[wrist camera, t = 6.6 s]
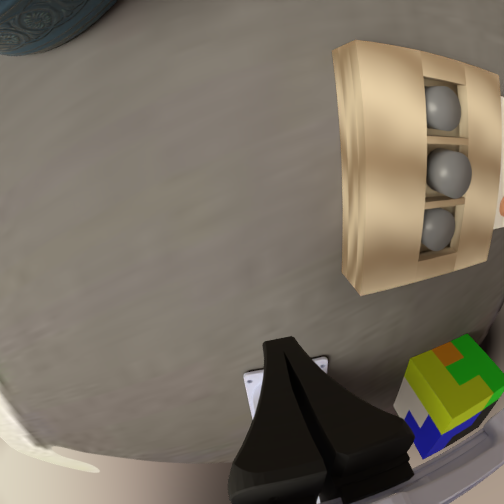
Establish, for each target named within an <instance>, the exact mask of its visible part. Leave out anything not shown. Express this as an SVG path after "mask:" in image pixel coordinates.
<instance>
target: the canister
mask: <svg viewBox="0 0 504 504" xmlns="http://www.w3.org/2000/svg"><path fill="white" fill-rule="evenodd" d="M116 1H117V0H0V54H1V55H7V56H22V55H30V54H37V53H41V52H45V51H48V50H51V49H53V48H55V47H58V46H60V45H62V44H64V43H66V42H67V41H69V40H71V39H73V38H74V37H76V36H77V35H79V34H80V33H82V32H83V31H85V30H86V29H87V28H89V27H90V26H91V25H92V24H94V23H95V22H96V21H97V20H98V19H100V18H101V17H102V16H103V15H104V14H105V13H106V12H107V11H108V10H109V9H110V8H111V7H112V6H113V5H114V4H115V2H116Z"/></svg>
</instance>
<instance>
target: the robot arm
mask: <svg viewBox="0 0 504 504" xmlns="http://www.w3.org/2000/svg"><path fill="white" fill-rule="evenodd" d="M263 352H264V369H263V370H258V371H252V372H247V373H245V374H244V381H245V386H246V391H247V396H248V400H249V405H250V410H251V414H252V419H253V420H252V423H251V426H250V429H249V431H248V433H247V435H246V438H245V440H244V442H243V444H242V446H241V448H240V450H239V452H238V454H237V456H236V458H235V459H234V461H233V464H232V468H231V471H230V475H229V480H228V494H229V500H230V501H231V503H232V504H449V503H451V502H452V501H454V500H455V499H457V498H458V497H460V496H461V495H463V494H464V493H466V492H467V491H469V490H470V489H472V488H473V487H474V486H476V485H477V484H478V483H480V482H481V481H483V480H484V479H485V478H486V477H488V476H489V475H491V474H492V473H493V472H494V471H496V470H497V469H498V468H499V467H501V466H502V465H503V464H504V408H503V409H502V410H501V411H499V412H498V413H497V414H495V415H494V416H493V417H491V418H490V419H489V420H488V421H487V423H486V424H485V425H484V427H483V428H482V429H481V430H479V431H478V432H476V433H475V434H473V435H472V436H470V437H469V438H467V439H466V440H464V441H462V442H461V443H459V444H457V445H456V446H454V447H452V448H451V449H449V450H447V451H446V452H444V453H442V454H440V455H438V456H437V457H435V458H433V459H431V460H429V461H427V462H426V463H423V464H421V465H419V466H418V467H415V468H413V469H412V468H411V466H410V464H409V462H408V461H409V459H410V458H409V456H408V454H407V451H408V450H409V448H410V447H411V445H412V444H413V442H414V439H415V435H414V433H413V431H412V430H411V428H410V427H409V425H408V424H407V423H406V422H405V420H404V419H403V418H400V417H398V416H395V415H392V414H390V413H387V412H385V411H383V410H380V409H378V408H376V407H374V406H372V405H370V404H369V403H367V402H365V401H363V400H362V399H360V398H358V397H356V396H355V395H353V394H352V393H350V392H349V391H347V390H346V389H345V388H343V387H342V386H341V385H339V384H338V383H337V382H336V381H334V380H333V379H332V378H331V377H330V376H329V375H327V368H328V359H327V358H326V357H319V358H315V359H311V358H310V357H309V356H308V354H307V353H306V352H305V351H304V350H303V349H302V347H301V346H300V345H299V344H298V342H297V341H296V340H295V338H294V337H292V336H290V337H285V338H280V339H275V340H270V341H265V342H264V343H263ZM395 493H396V494H395ZM390 495H391V496H390Z"/></svg>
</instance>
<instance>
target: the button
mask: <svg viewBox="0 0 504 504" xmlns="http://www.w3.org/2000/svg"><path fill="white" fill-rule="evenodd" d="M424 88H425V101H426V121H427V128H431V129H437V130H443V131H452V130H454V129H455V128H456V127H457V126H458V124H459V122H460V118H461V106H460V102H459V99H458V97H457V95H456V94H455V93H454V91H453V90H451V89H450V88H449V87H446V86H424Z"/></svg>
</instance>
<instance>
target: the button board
mask: <svg viewBox="0 0 504 504" xmlns="http://www.w3.org/2000/svg"><path fill="white" fill-rule="evenodd" d="M332 56H333V64H334V72H335V81H336V90H337V101H338V113H339V126H340V141H341V161H342V194H343V243H342V273H343V275H344V276H345V277H346V278H347V279H348V281H349V282H350V283H351V284H352V286H353V287H354V288H355V289H356V291H357V292H358V293H359V295H360V296H363V295H367V294H371V293H375V292H379V291H383V290H387V289H391V288H395V287H399V286H403V285H406V284H410V283H414V282H418V281H421V280H425V279H428V278H432V277H436V276H439V275H442V274H446V273H449V272H453V271H456V270H459V269H463V268H466V267H469V266H472V265H475V264H479V263H482V262H485V261H487V256H488V252H489V247H490V243H491V238H492V232H493V227H494V221H495V215H496V208H497V200H498V192H499V182H500V170H501V152H502V112H501V94H500V83H499V75H497V74H494V73H492V72H489V71H486V70H484V69H481V68H478V67H475V66H472V65H469V64H466V63H463V62H460V61H457V60H453V59H450V58H446V57H443V56H439V55H435V54H431V53H427V52H423V51H419V50H414V49H410V48H405V47H400V46H394V45H388V44H382V43H376V42H369V41H361V40H354V41H352V42H350V43H347V44H345V45H343V46H341V47H338V48H336V49H334V50H332ZM424 86H446V87H449V88H450V89H451V90H453V91H454V93H455V94H456V95H457V97H458V99H459V102H460V106H461V118H460V122H459V124H458V126H457V127H456V128H455V129H454V130H452V131H443V130H437V129H431V128H427V121H426V101H425V88H424ZM436 148H444V149H448V150H452V151H456V152H459V153H463V154H464V155H465V156H466V157H467V158H468V159H469V161H470V164H471V168H472V178H471V183H470V186H469V188H468V190H467V192H466V193H465V194H464V195H463V196H462V197H460V198H457V199H453V198H450V197H448V196H446V195H444V194H441V193H439V192H437V191H435V190H432V189H431V188H430V187H429V186H428V185H427V183H426V174H427V157H428V155H429V154H430V152H431V151H433V150H434V149H436ZM432 208H442V209H444V210H446V211H448V212H450V213H451V214H452V215H453V217H454V219H455V231H454V235H453V237H452V239H451V241H450V242H449V244H448V245H447V246H446V247H445V248H444V249H442V250H440V251H432V250H431V249H429V248H428V247H426V246H425V245H424V244H422V243H421V237H422V229H423V219H424V209H432Z"/></svg>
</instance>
